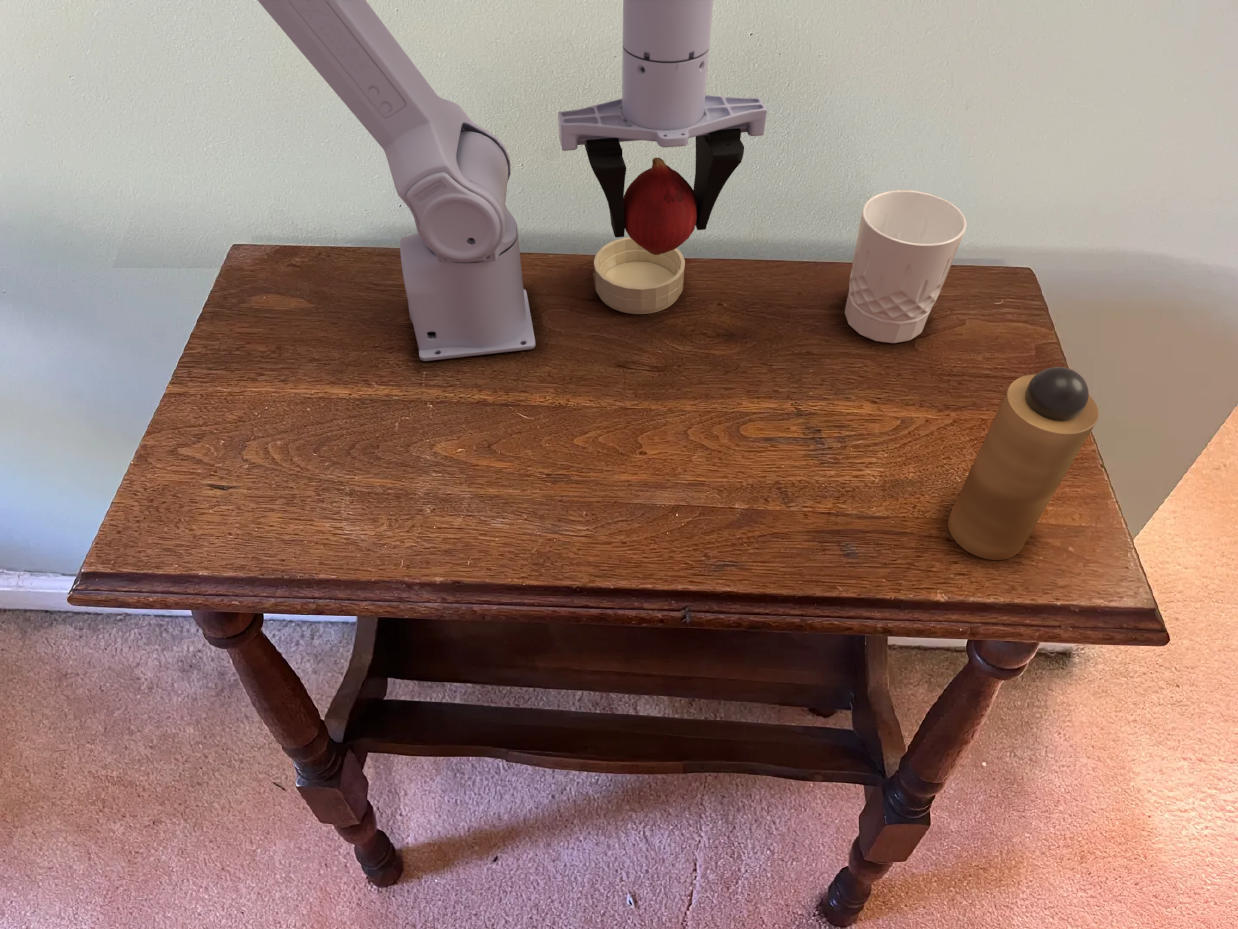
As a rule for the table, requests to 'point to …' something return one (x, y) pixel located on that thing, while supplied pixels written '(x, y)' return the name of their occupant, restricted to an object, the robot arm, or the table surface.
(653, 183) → the onion
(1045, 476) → the pepper mill
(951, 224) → the white cup
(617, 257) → the bowl
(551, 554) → the table surface
